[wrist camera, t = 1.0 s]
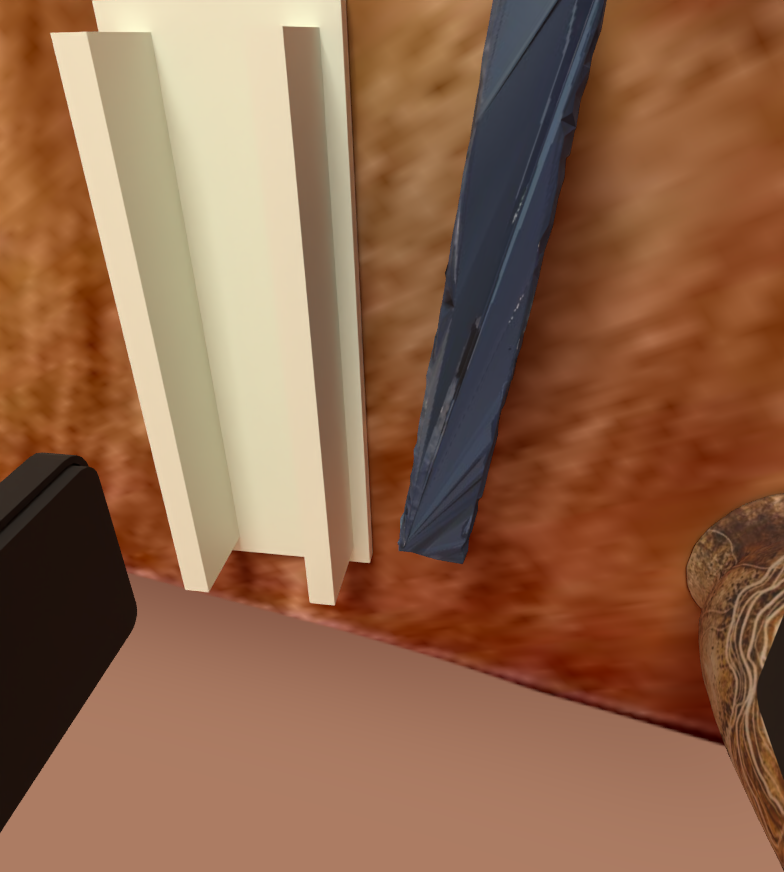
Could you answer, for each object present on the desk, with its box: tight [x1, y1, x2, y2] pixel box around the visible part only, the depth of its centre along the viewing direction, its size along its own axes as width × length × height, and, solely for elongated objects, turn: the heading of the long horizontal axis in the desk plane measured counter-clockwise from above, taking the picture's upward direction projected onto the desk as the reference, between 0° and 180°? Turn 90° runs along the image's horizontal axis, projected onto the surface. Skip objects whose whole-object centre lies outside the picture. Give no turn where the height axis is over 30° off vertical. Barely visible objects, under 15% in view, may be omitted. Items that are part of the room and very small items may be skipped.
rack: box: [51, 0, 373, 605], centre depth 28 cm, size 9×25×5 cm, turn 1°
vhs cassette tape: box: [398, 0, 607, 564], centre depth 22 cm, size 18×3×10 cm, turn 171°
